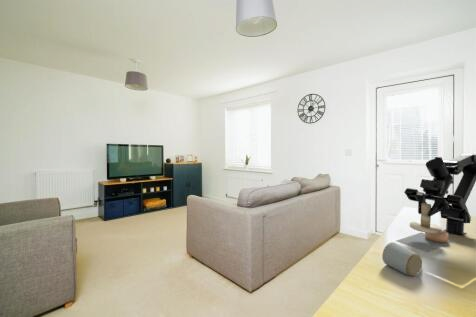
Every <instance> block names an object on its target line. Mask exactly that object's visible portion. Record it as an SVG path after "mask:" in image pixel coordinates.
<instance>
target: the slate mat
mask: <svg viewBox="0 0 476 317" xmlns="http://www.w3.org/2000/svg"><path fill="white" fill-rule="evenodd" d="M397 242H398V243H400V244H403V245H406V246H410V247H412V248H415V249H418V250H421V251H423V252H425V253H429V252H432V251H435V250H437V249H439V248H442V247H445V246H446V245H449V244H452V243H453V241H452V240H449V239H448V242H444V243H439V242H434V241H431V240H429V239H427V238H426V237H425V232H419V233H415V234H412V235H409V236H407V237H404V238H403V237H402V238H400V239H398V240H396V243H397Z"/></svg>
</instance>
